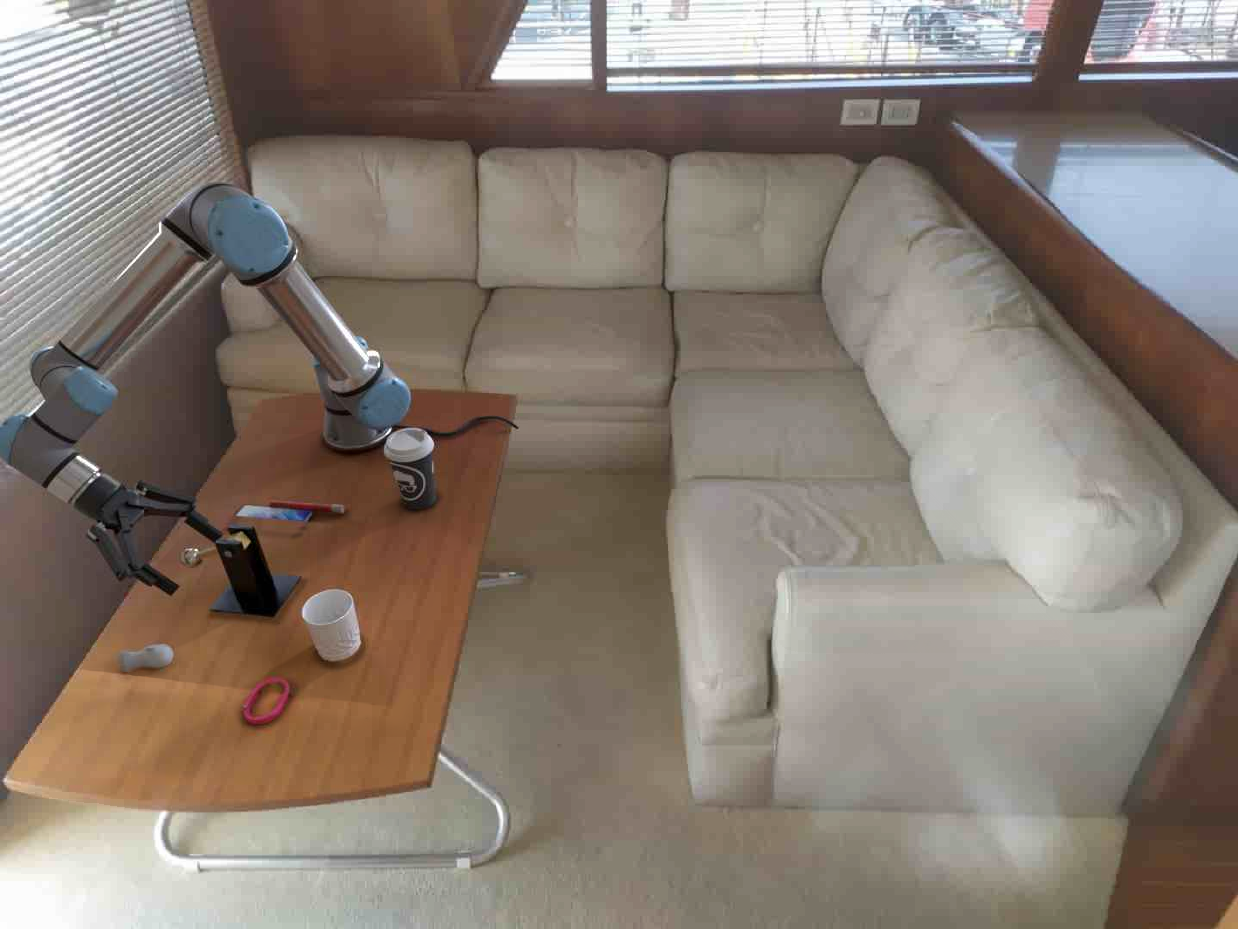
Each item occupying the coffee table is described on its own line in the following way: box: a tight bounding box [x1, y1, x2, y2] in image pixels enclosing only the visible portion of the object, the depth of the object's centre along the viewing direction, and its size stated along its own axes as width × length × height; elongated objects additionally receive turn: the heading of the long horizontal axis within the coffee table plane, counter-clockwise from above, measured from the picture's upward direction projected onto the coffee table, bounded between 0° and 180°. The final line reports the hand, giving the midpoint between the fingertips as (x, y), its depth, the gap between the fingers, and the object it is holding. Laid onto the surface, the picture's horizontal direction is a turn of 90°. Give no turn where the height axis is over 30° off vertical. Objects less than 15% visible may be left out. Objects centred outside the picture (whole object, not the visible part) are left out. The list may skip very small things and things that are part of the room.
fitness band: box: [242, 677, 292, 725], centre depth 132 cm, size 8×6×2 cm
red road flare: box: [269, 499, 345, 514], centre depth 171 cm, size 2×15×2 cm, turn 82°
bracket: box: [209, 523, 302, 618], centre depth 147 cm, size 12×10×15 cm
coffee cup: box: [383, 428, 437, 511], centre depth 169 cm, size 10×10×15 cm
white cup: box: [301, 588, 362, 662], centre depth 138 cm, size 8×8×10 cm
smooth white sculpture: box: [118, 643, 175, 674], centre depth 138 cm, size 4×8×5 cm
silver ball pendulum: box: [180, 531, 251, 569], centre depth 146 cm, size 14×4×4 cm, turn 79°
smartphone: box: [234, 504, 313, 523], centre depth 168 cm, size 7×1×15 cm
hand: (198, 564), depth 148 cm, fingers open, 13 cm apart
